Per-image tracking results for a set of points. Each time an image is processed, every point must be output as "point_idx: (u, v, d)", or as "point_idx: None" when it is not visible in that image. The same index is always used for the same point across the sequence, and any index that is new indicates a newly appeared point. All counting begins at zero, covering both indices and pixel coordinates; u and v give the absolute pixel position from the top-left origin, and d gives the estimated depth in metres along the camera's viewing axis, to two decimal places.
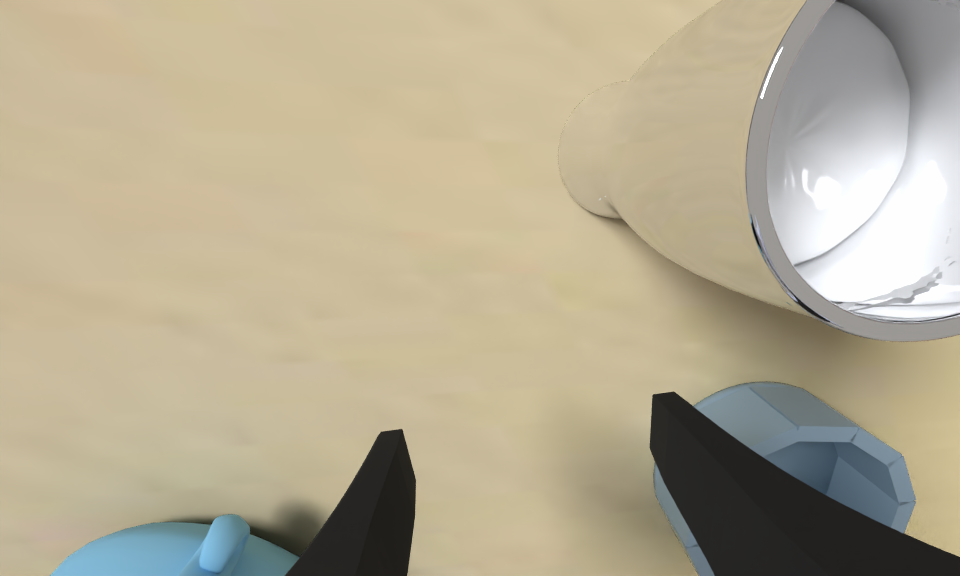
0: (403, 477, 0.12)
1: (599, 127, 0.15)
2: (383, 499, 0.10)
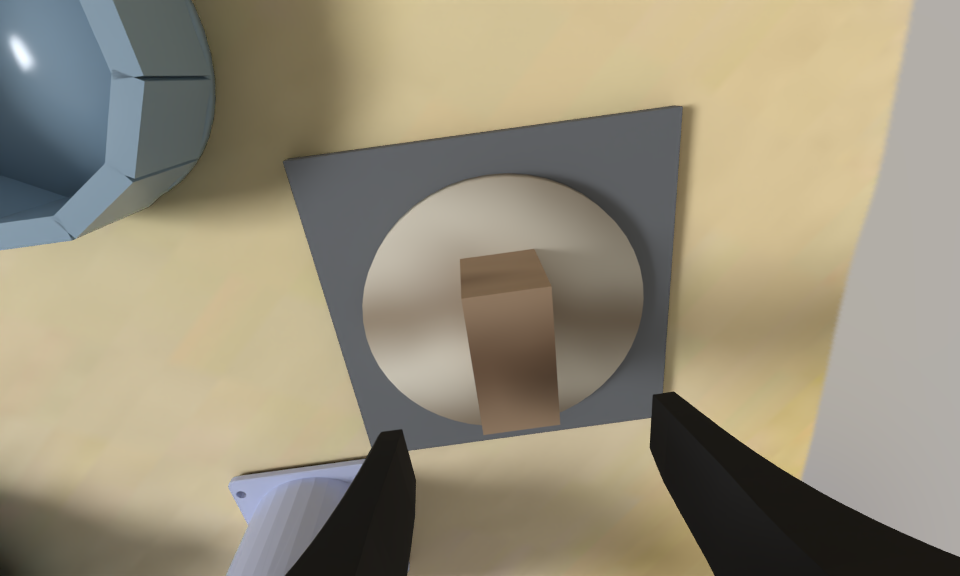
0: (403, 477, 0.12)
1: None
2: (383, 499, 0.10)
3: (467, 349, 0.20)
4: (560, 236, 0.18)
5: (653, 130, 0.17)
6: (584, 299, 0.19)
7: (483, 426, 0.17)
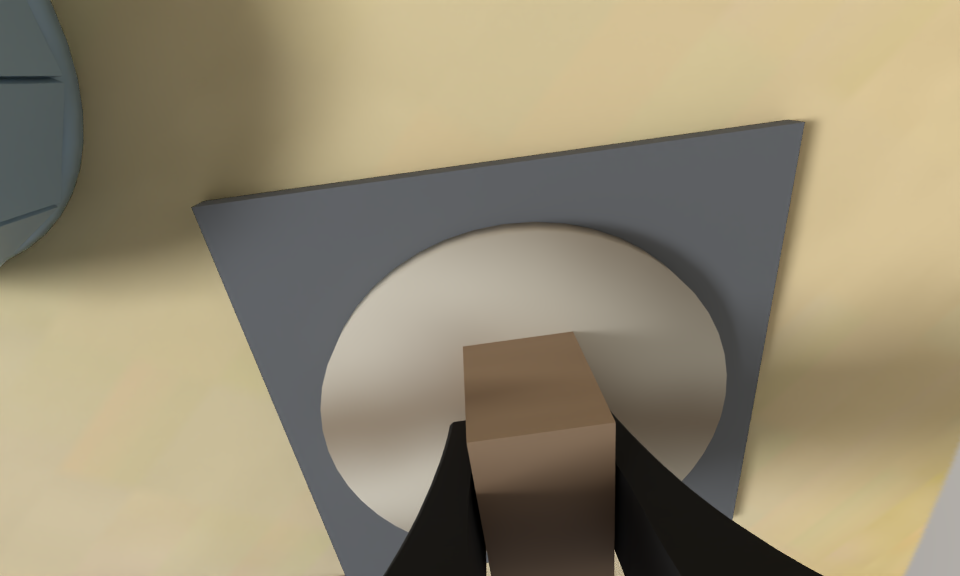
0: None
1: None
2: (471, 487, 0.10)
3: None
4: (611, 314, 0.12)
5: (757, 158, 0.11)
6: (641, 397, 0.13)
7: None
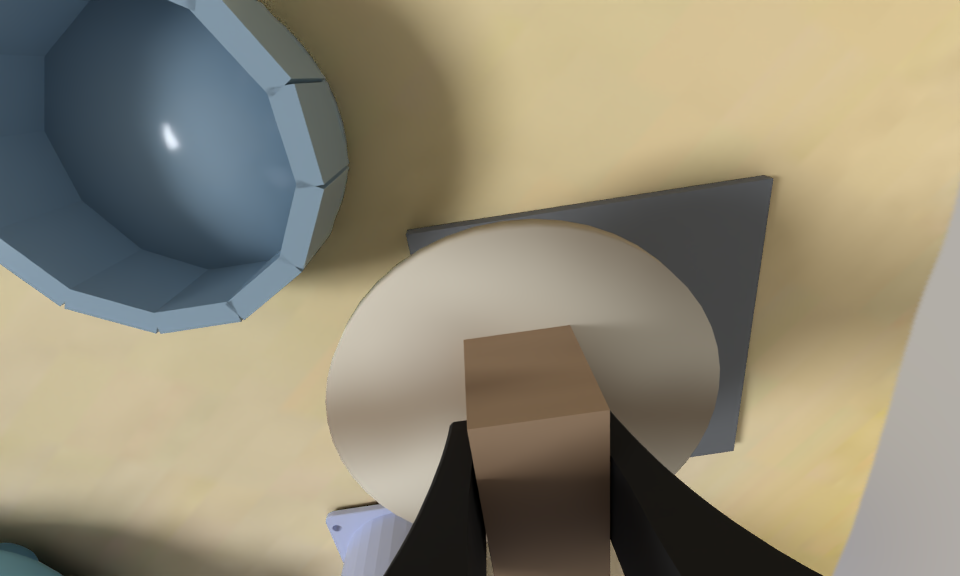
0: None
1: None
2: (471, 487, 0.10)
3: None
4: (607, 308, 0.12)
5: (745, 199, 0.18)
6: (637, 389, 0.14)
7: None
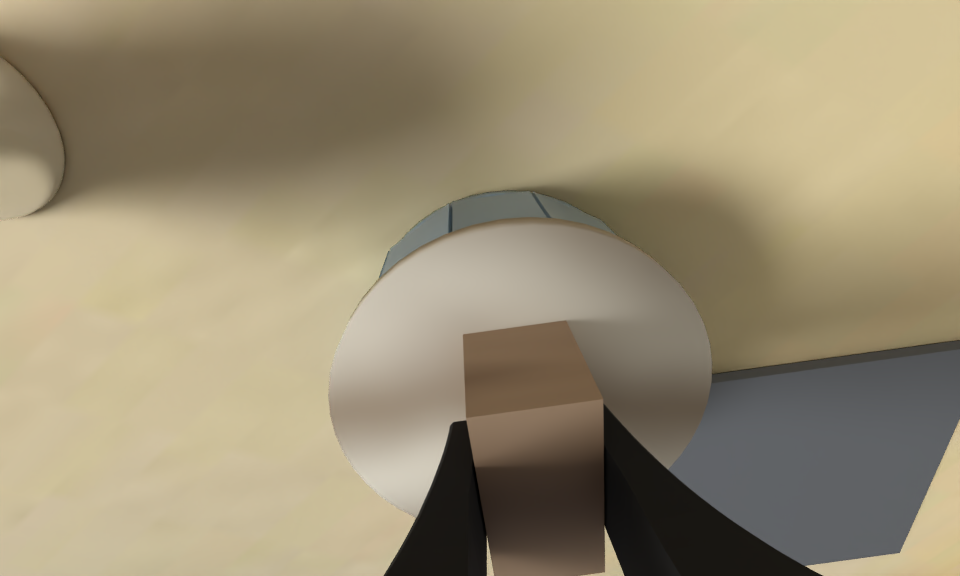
0: None
1: None
2: (471, 486, 0.10)
3: None
4: (602, 304, 0.13)
5: None
6: (631, 383, 0.14)
7: None
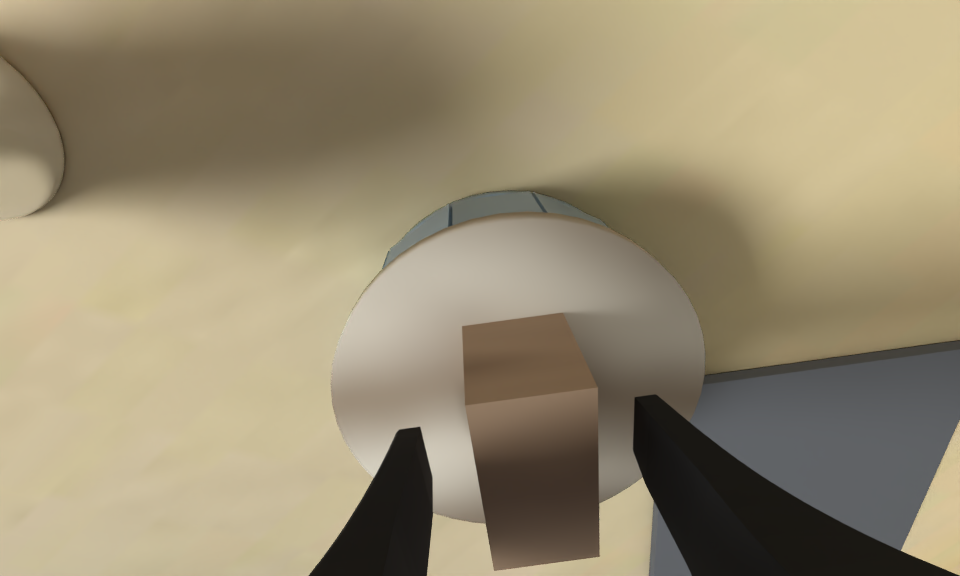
0: (422, 474, 0.12)
1: None
2: (405, 496, 0.10)
3: None
4: (598, 296, 0.13)
5: None
6: (626, 374, 0.14)
7: (494, 561, 0.12)
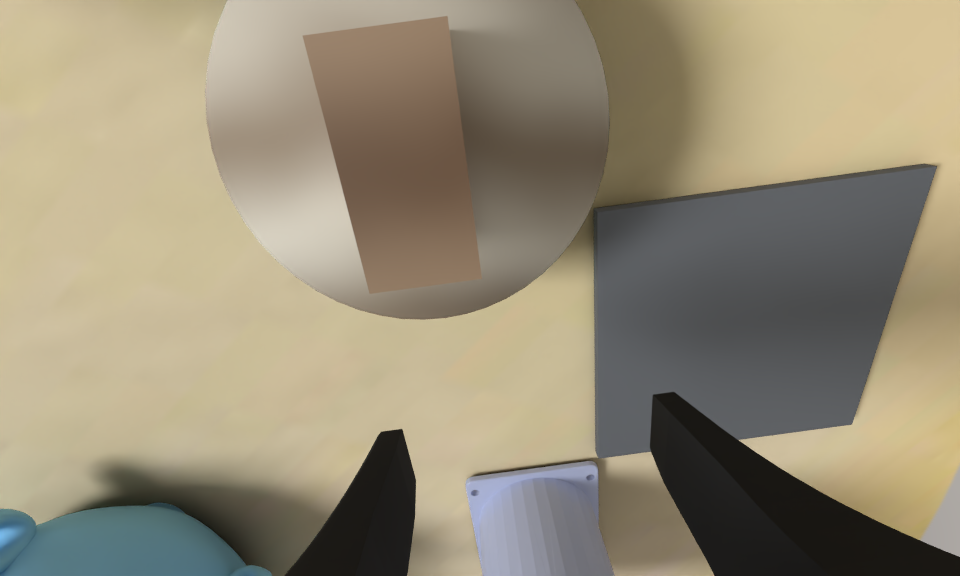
0: (403, 477, 0.12)
1: None
2: (383, 499, 0.10)
3: None
4: (485, 9, 0.12)
5: (908, 185, 0.20)
6: (526, 120, 0.13)
7: (367, 279, 0.12)
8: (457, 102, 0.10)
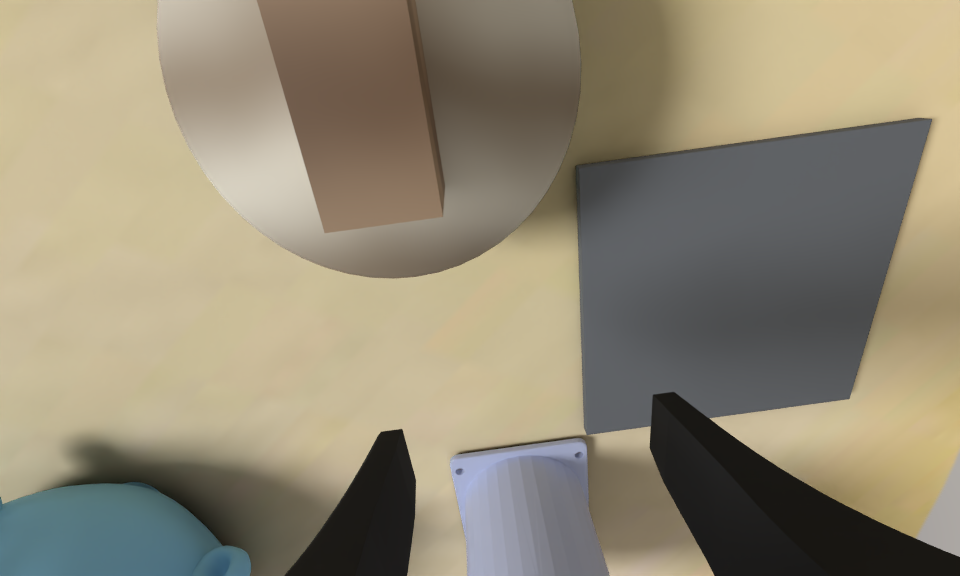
0: (403, 477, 0.12)
1: None
2: (383, 499, 0.10)
3: None
4: None
5: (902, 140, 0.19)
6: (493, 59, 0.13)
7: (321, 216, 0.11)
8: (408, 17, 0.09)
